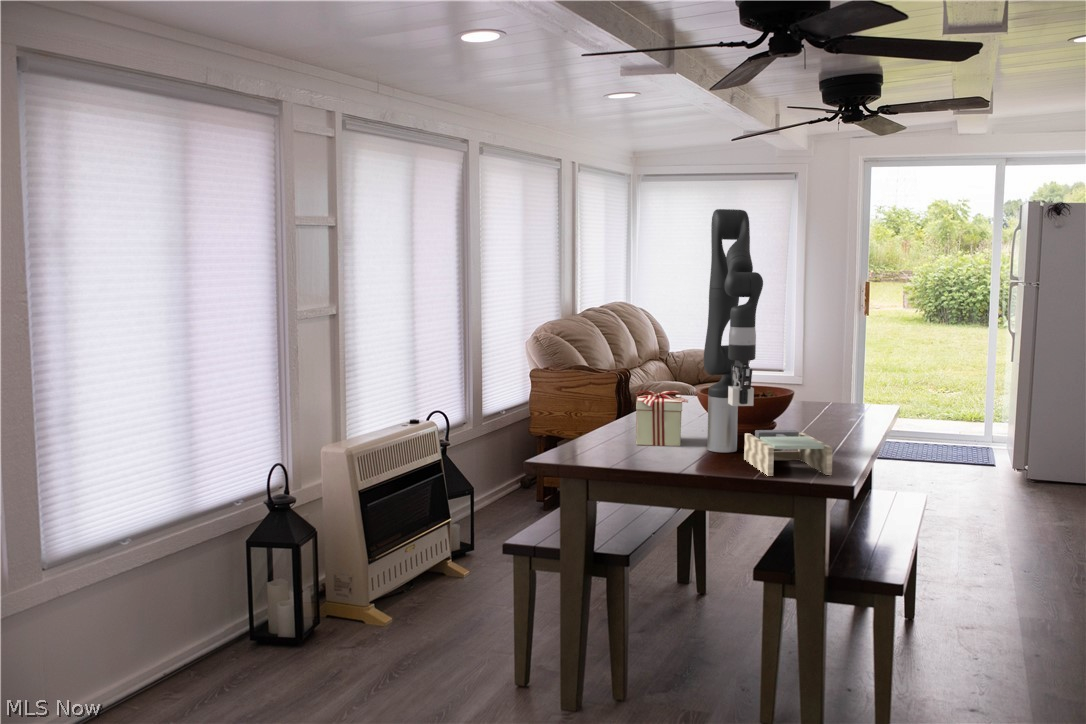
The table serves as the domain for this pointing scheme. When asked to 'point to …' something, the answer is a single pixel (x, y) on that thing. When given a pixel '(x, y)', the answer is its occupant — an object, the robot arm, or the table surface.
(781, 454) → the stand
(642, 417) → the gift box
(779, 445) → the trapdoor
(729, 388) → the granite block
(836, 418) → the table surface
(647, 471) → the table surface
